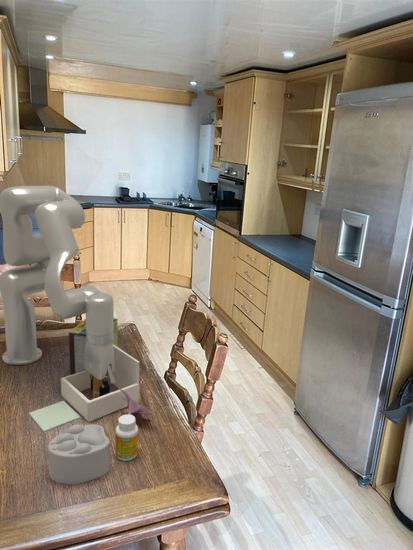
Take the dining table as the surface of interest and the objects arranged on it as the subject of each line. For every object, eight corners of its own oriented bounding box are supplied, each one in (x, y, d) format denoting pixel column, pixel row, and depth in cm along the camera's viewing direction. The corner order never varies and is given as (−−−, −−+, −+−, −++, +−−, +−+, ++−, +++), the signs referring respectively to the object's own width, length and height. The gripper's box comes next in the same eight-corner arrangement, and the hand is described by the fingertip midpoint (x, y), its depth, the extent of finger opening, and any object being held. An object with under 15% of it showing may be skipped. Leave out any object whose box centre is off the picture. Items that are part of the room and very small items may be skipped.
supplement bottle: (119, 464, 101) (119, 428, 99) (112, 449, 106) (112, 415, 103) (140, 457, 104) (141, 422, 101) (133, 444, 108) (134, 410, 106)
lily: (154, 438, 112) (165, 402, 114) (112, 430, 108) (124, 392, 109) (140, 426, 123) (150, 393, 125) (101, 418, 118) (112, 383, 120)
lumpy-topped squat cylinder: (112, 473, 98) (112, 441, 96) (53, 491, 92) (51, 457, 90) (100, 446, 107) (100, 415, 105) (45, 460, 101) (44, 429, 98)
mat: (28, 414, 118) (28, 412, 117) (63, 401, 124) (63, 400, 124) (44, 432, 111) (43, 430, 110) (80, 418, 117) (80, 416, 117)
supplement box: (103, 403, 125) (103, 372, 122) (92, 401, 125) (92, 370, 123) (108, 396, 128) (108, 366, 125) (97, 395, 129) (97, 364, 126)
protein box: (118, 359, 151) (118, 318, 147) (100, 381, 136) (99, 336, 132) (89, 355, 153) (89, 314, 148) (69, 376, 138) (67, 331, 134)
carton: (61, 396, 127) (60, 356, 123) (110, 379, 138) (110, 342, 134) (88, 422, 115) (87, 379, 112) (139, 402, 126) (139, 362, 123)
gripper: (73, 329, 125) (75, 386, 130) (103, 350, 113) (103, 411, 118) (96, 324, 130) (97, 378, 135) (127, 343, 118) (127, 402, 123)
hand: (100, 393), depth 126 cm, fingers closed on supplement box, 4 cm apart
